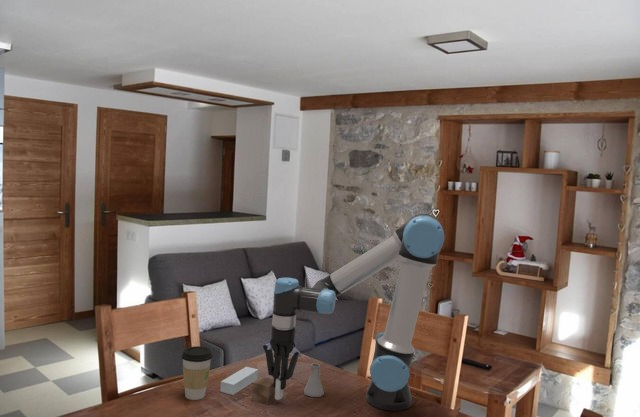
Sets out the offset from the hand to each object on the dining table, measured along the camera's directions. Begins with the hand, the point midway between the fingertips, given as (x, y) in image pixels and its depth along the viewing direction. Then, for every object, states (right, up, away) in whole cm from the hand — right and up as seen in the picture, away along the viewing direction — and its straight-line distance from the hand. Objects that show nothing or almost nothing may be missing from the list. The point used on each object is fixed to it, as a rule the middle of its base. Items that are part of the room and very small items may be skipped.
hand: (278, 398), depth 174 cm
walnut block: (-5, -1, +2) cm, 6 cm away
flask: (+11, -2, +9) cm, 15 cm away
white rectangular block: (-14, 0, +12) cm, 19 cm away
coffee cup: (-27, 0, +1) cm, 27 cm away
